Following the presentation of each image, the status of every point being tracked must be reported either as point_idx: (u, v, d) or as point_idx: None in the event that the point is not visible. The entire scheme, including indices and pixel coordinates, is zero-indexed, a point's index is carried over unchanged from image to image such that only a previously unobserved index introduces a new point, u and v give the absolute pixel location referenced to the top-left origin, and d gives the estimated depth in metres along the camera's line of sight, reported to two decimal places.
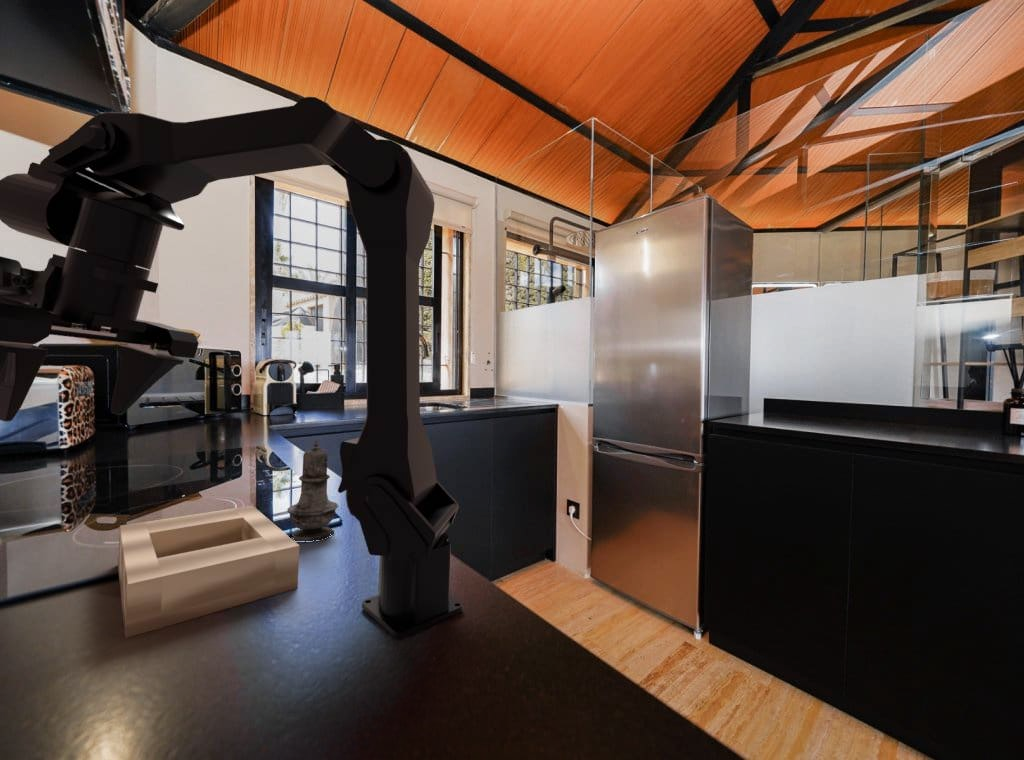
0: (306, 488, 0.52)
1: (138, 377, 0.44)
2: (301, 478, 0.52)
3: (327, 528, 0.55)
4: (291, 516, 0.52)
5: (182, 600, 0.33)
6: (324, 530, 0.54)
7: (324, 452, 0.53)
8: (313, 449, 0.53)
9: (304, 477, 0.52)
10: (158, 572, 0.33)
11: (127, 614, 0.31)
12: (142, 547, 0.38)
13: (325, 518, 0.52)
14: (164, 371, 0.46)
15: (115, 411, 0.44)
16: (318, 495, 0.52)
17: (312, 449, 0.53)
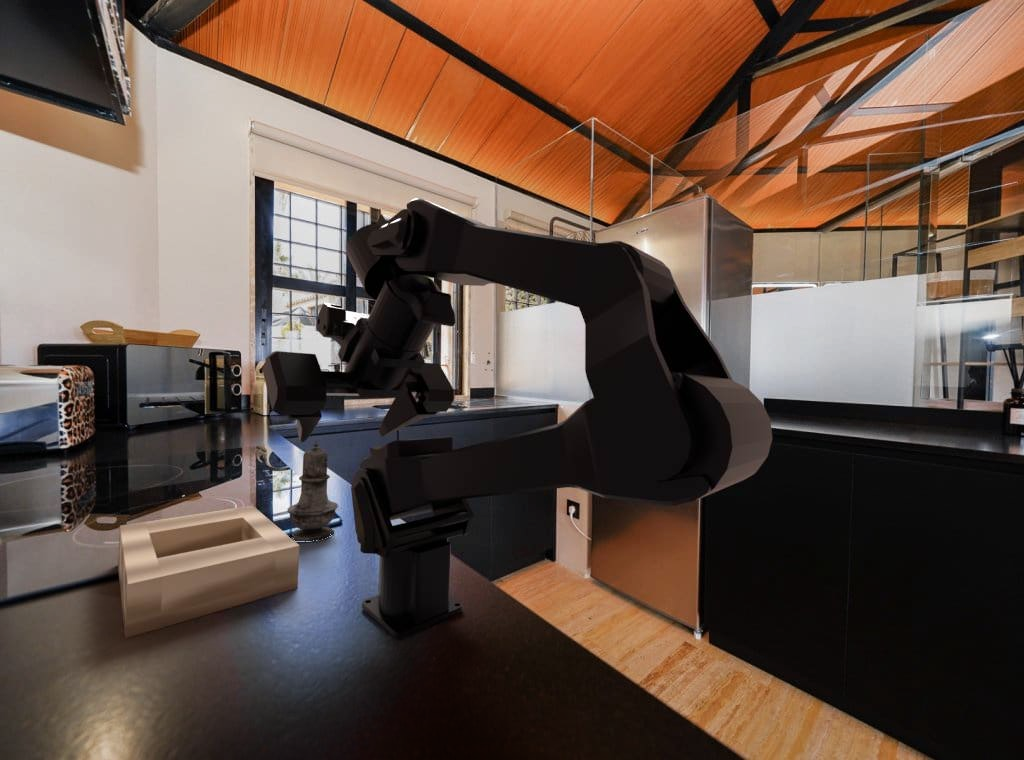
0: (306, 488, 0.52)
1: (399, 417, 0.48)
2: (301, 478, 0.52)
3: (327, 528, 0.55)
4: (291, 516, 0.52)
5: (182, 600, 0.33)
6: (324, 530, 0.54)
7: (324, 452, 0.53)
8: (313, 449, 0.53)
9: (304, 477, 0.52)
10: (158, 572, 0.33)
11: (127, 614, 0.31)
12: (142, 547, 0.38)
13: (325, 518, 0.52)
14: (418, 419, 0.48)
15: (380, 432, 0.50)
16: (318, 495, 0.52)
17: (312, 449, 0.53)
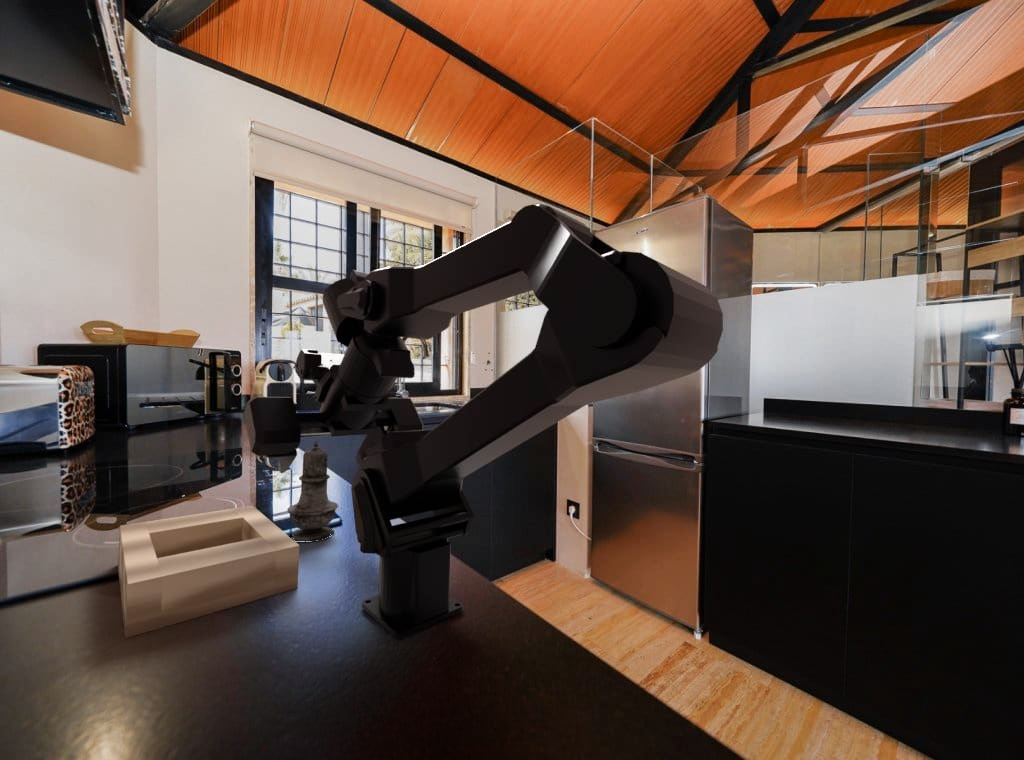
0: (306, 488, 0.52)
1: None
2: (301, 478, 0.52)
3: (327, 528, 0.55)
4: (291, 516, 0.52)
5: (182, 600, 0.33)
6: (324, 530, 0.54)
7: (324, 452, 0.53)
8: (313, 449, 0.53)
9: (304, 477, 0.52)
10: (158, 572, 0.33)
11: (127, 614, 0.31)
12: (142, 547, 0.38)
13: (325, 518, 0.52)
14: None
15: (356, 460, 0.55)
16: (318, 495, 0.52)
17: (312, 449, 0.53)
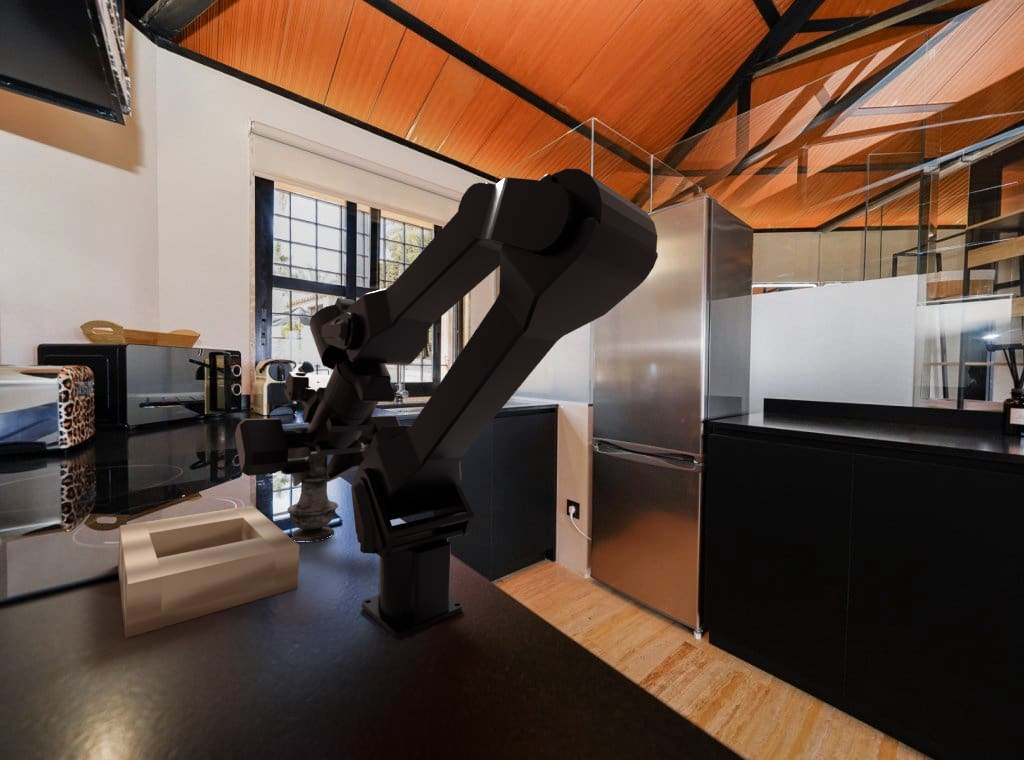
0: (306, 488, 0.52)
1: (339, 466, 0.53)
2: None
3: (327, 528, 0.55)
4: (291, 516, 0.52)
5: (182, 600, 0.33)
6: (324, 529, 0.54)
7: None
8: None
9: None
10: (158, 572, 0.33)
11: (127, 614, 0.31)
12: (142, 547, 0.38)
13: (325, 518, 0.52)
14: (355, 468, 0.53)
15: None
16: (318, 495, 0.52)
17: None
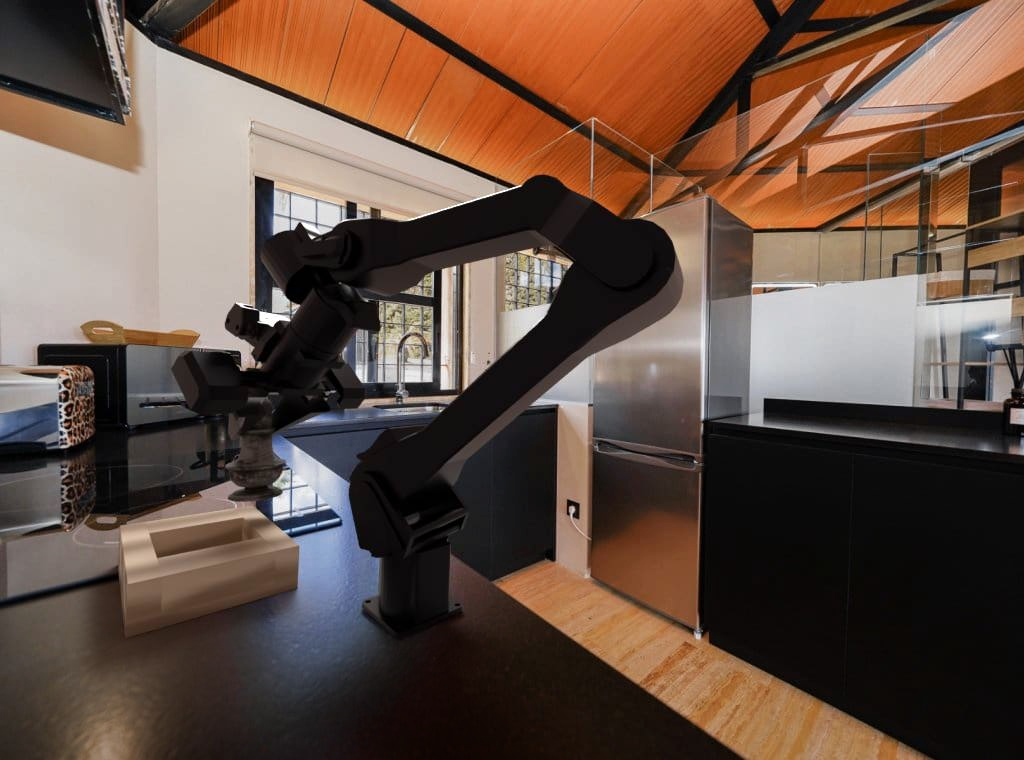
0: (250, 440, 0.46)
1: (289, 415, 0.48)
2: None
3: (272, 487, 0.49)
4: (232, 473, 0.45)
5: (182, 600, 0.33)
6: (270, 488, 0.48)
7: (269, 400, 0.47)
8: None
9: None
10: (158, 572, 0.33)
11: (127, 614, 0.31)
12: (142, 547, 0.38)
13: (276, 473, 0.46)
14: (310, 417, 0.48)
15: None
16: (265, 448, 0.46)
17: None
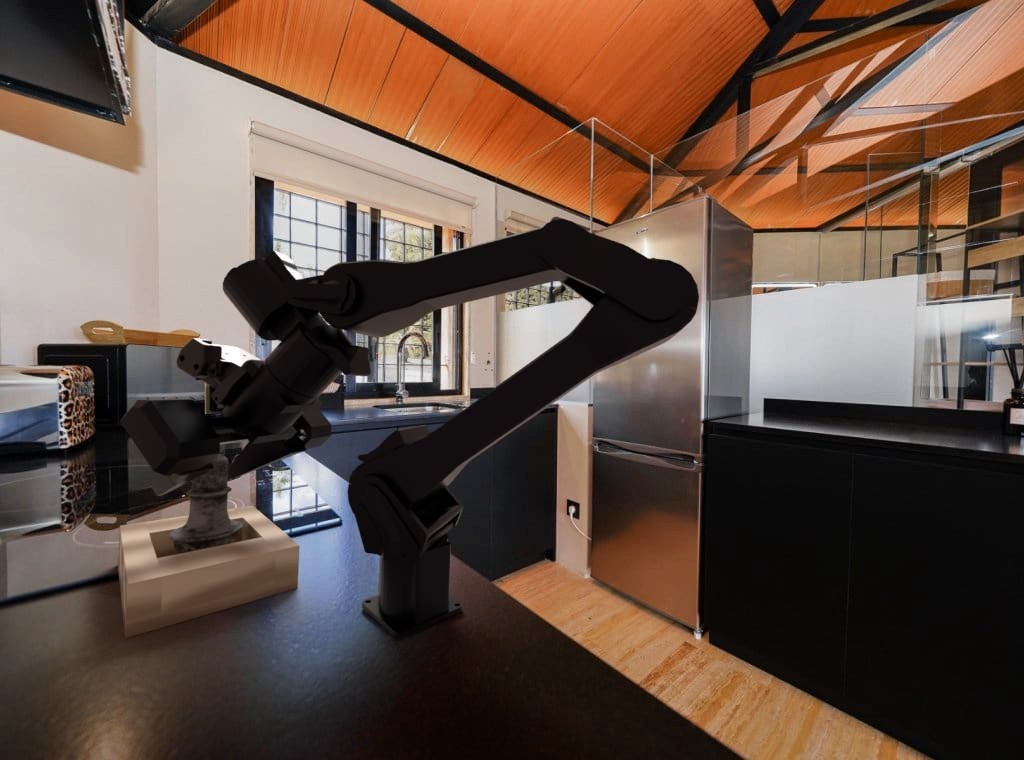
0: (203, 505, 0.40)
1: (262, 456, 0.45)
2: (195, 494, 0.40)
3: None
4: (182, 545, 0.39)
5: (182, 600, 0.33)
6: None
7: (225, 457, 0.42)
8: None
9: (200, 492, 0.40)
10: (158, 572, 0.33)
11: (127, 614, 0.31)
12: (142, 547, 0.38)
13: (234, 540, 0.42)
14: (286, 457, 0.46)
15: (230, 474, 0.45)
16: (221, 512, 0.41)
17: None
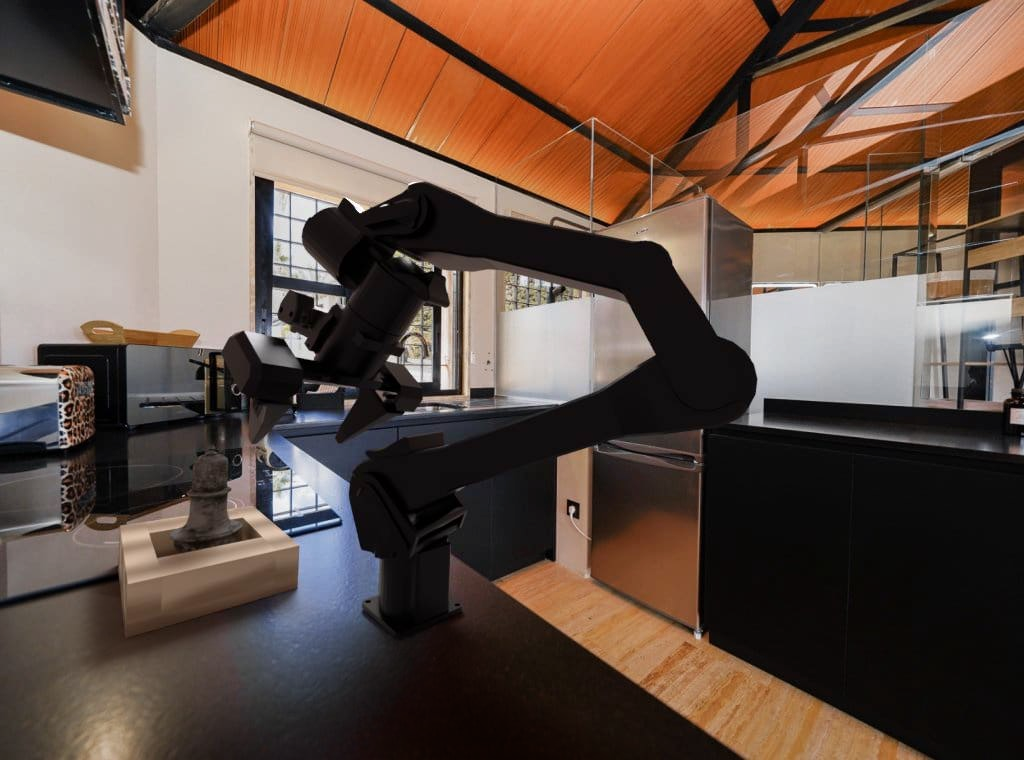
0: (203, 505, 0.40)
1: (363, 418, 0.45)
2: (195, 494, 0.40)
3: None
4: (182, 545, 0.39)
5: (182, 600, 0.33)
6: None
7: (225, 457, 0.42)
8: (210, 455, 0.41)
9: (200, 491, 0.40)
10: (158, 572, 0.33)
11: (127, 614, 0.31)
12: (142, 547, 0.38)
13: (234, 540, 0.42)
14: (384, 419, 0.45)
15: (337, 439, 0.46)
16: (221, 512, 0.41)
17: (208, 455, 0.41)
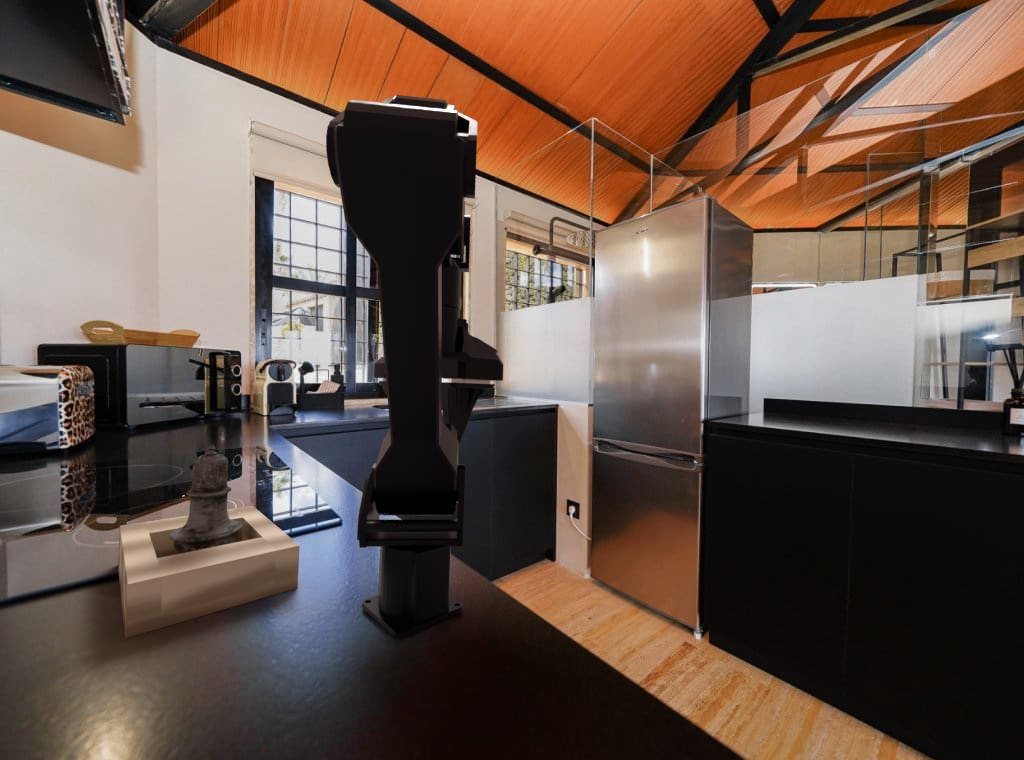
0: (203, 505, 0.40)
1: None
2: (195, 494, 0.40)
3: None
4: (182, 545, 0.39)
5: (182, 600, 0.33)
6: None
7: (225, 457, 0.42)
8: (210, 455, 0.41)
9: (200, 492, 0.40)
10: (158, 572, 0.33)
11: (127, 614, 0.31)
12: (142, 547, 0.38)
13: (233, 540, 0.42)
14: (445, 396, 0.43)
15: None
16: (221, 512, 0.41)
17: (208, 455, 0.41)
